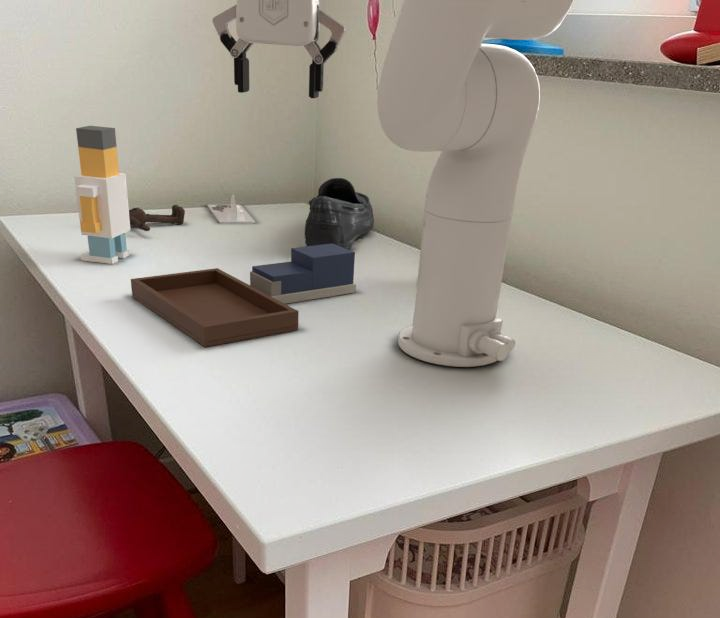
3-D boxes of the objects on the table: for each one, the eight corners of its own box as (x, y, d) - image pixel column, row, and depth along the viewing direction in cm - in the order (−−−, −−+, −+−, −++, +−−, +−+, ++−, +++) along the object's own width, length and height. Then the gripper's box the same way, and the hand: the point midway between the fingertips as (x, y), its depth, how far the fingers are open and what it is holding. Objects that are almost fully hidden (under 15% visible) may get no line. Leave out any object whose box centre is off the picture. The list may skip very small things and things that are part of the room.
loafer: (377, 223, 148) (381, 167, 143) (363, 261, 123) (367, 195, 118) (324, 218, 149) (326, 162, 144) (299, 256, 124) (300, 189, 119)
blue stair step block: (355, 292, 109) (358, 252, 106) (270, 306, 101) (270, 263, 98) (331, 281, 113) (333, 242, 110) (247, 293, 105) (247, 252, 102)
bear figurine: (203, 215, 131) (120, 212, 123) (202, 241, 133) (120, 240, 125) (160, 195, 144) (82, 191, 135) (160, 219, 146) (82, 216, 137)
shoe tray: (298, 330, 94) (298, 310, 93) (204, 347, 87) (204, 327, 86) (218, 285, 108) (217, 267, 107) (132, 297, 101) (130, 278, 100)
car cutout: (255, 224, 142) (255, 198, 140) (219, 224, 140) (218, 198, 138) (240, 206, 155) (240, 183, 152) (207, 206, 153) (206, 183, 150)
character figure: (83, 267, 111) (67, 132, 102) (76, 249, 119) (61, 122, 110) (138, 265, 114) (127, 133, 105) (128, 247, 122) (117, 123, 113)
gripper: (201, -69, 92) (207, 91, 101) (343, -61, 90) (336, 101, 99) (220, -62, 98) (224, 88, 107) (353, -54, 97) (346, 98, 105)
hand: (278, 94), depth 103 cm, fingers open, 9 cm apart
